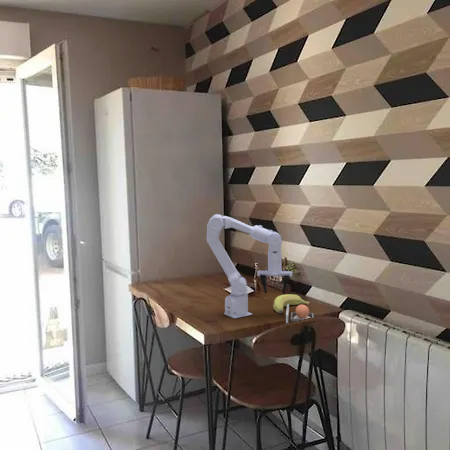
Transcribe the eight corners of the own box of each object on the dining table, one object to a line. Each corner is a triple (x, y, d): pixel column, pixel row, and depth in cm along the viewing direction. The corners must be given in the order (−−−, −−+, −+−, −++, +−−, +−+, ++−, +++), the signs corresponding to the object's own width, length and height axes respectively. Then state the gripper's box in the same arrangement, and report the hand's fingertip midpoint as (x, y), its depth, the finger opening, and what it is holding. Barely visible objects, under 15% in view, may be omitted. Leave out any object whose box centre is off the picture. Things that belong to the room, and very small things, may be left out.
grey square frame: (290, 321, 198) (290, 318, 198) (291, 314, 207) (291, 312, 207) (313, 321, 196) (313, 319, 196) (313, 315, 205) (313, 313, 205)
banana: (267, 291, 219) (305, 292, 226) (264, 302, 220) (302, 302, 228) (280, 306, 207) (320, 306, 214) (277, 317, 208) (317, 317, 216)
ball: (301, 320, 198) (301, 307, 197) (292, 317, 202) (292, 304, 202) (311, 318, 201) (311, 305, 200) (302, 315, 205) (302, 302, 205)
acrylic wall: (288, 323, 195) (288, 315, 194) (286, 323, 195) (285, 315, 194) (288, 312, 210) (289, 304, 210) (287, 312, 210) (287, 304, 210)
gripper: (256, 262, 202) (256, 294, 203) (291, 263, 200) (291, 295, 201) (258, 259, 209) (258, 290, 210) (292, 260, 206) (292, 291, 208)
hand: (274, 293), depth 206 cm, fingers open, 7 cm apart
